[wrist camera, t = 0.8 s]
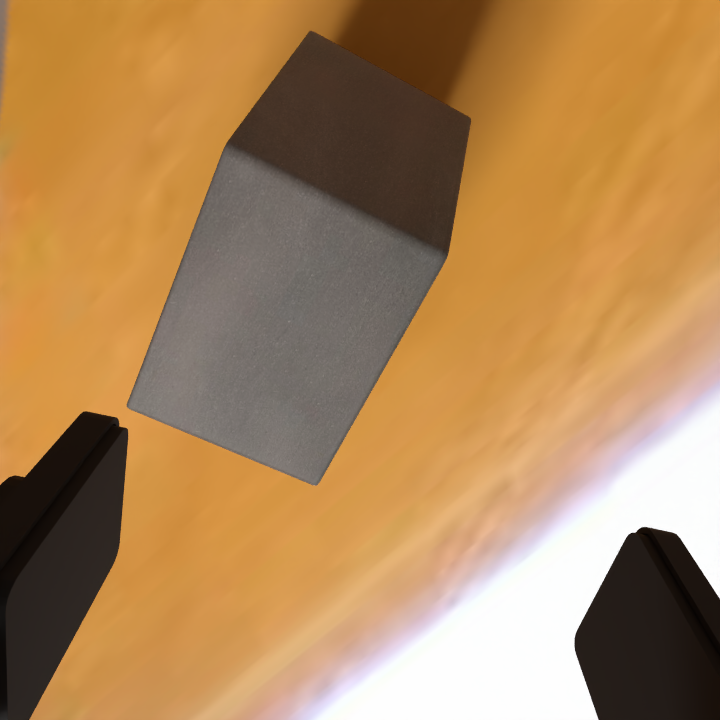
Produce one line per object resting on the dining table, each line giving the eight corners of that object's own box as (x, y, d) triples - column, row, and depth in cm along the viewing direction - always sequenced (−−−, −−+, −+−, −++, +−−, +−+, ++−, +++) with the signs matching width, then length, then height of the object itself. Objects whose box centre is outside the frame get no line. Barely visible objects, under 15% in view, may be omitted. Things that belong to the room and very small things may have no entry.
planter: (280, 461, 38) (346, 507, 18) (162, 412, 37) (94, 403, 17) (382, 225, 41) (536, 41, 21) (276, 172, 40) (335, -77, 20)
